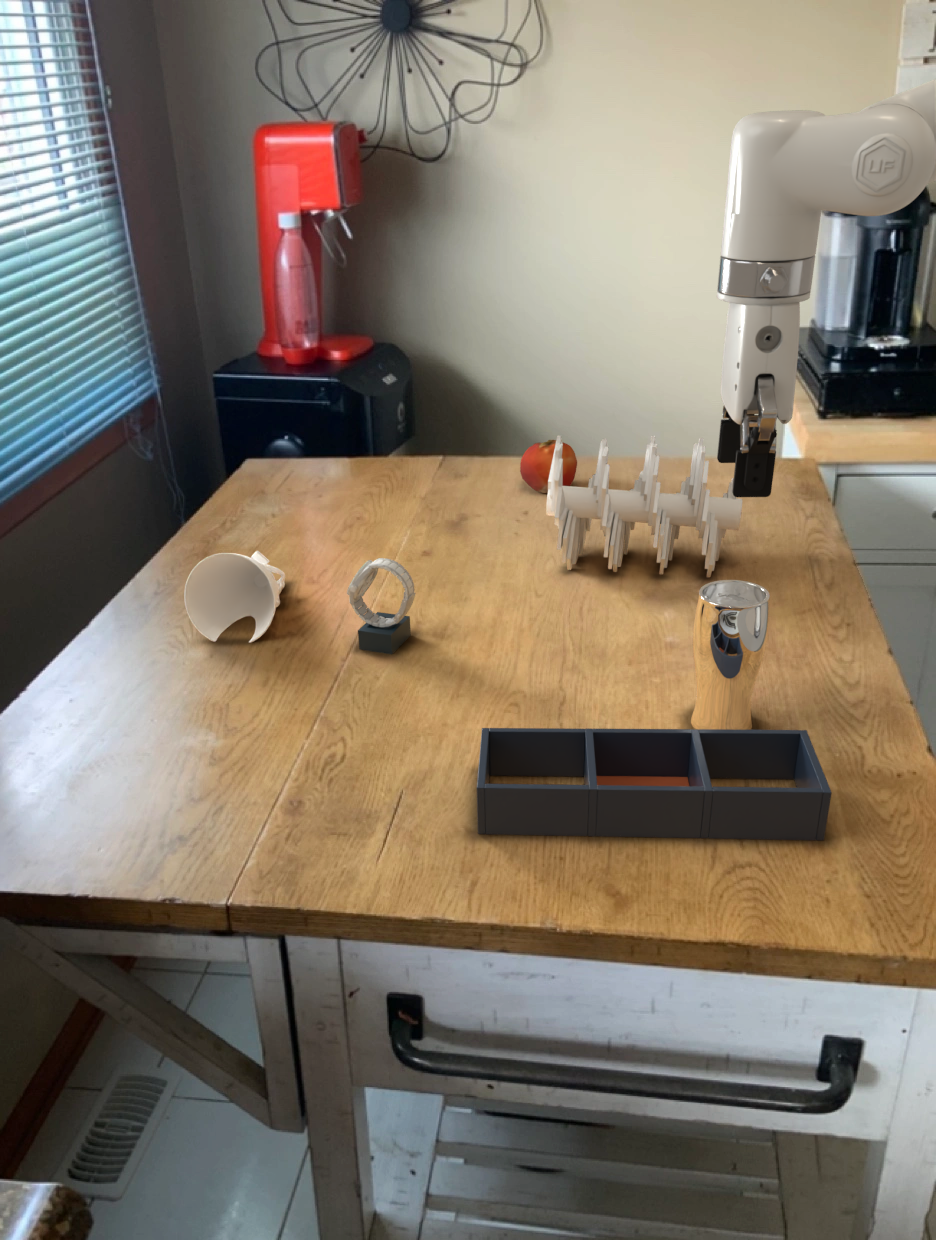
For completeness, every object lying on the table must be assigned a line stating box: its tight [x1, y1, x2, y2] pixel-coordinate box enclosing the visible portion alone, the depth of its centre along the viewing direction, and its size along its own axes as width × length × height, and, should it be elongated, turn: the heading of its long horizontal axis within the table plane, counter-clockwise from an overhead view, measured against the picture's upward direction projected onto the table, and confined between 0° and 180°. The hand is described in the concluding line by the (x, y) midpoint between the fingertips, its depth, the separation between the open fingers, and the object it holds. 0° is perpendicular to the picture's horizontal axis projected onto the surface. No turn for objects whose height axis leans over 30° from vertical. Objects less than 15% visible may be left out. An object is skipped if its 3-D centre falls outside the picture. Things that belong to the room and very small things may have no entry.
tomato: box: [519, 439, 578, 494], centre depth 182 cm, size 9×9×8 cm
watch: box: [346, 557, 416, 655], centre depth 134 cm, size 6×8×11 cm
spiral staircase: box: [545, 435, 743, 578], centre depth 149 cm, size 18×18×25 cm
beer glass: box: [690, 579, 771, 730], centre depth 112 cm, size 7×7×15 cm
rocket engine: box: [183, 550, 286, 643], centre depth 145 cm, size 12×12×18 cm
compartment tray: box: [476, 727, 833, 841], centre depth 102 cm, size 30×10×6 cm, turn 84°
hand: (742, 478), depth 103 cm, fingers open, 9 cm apart
